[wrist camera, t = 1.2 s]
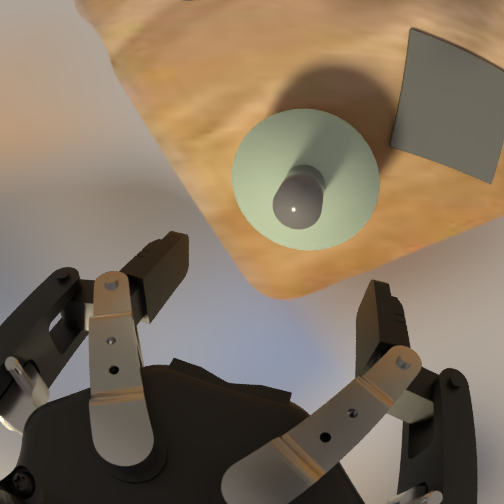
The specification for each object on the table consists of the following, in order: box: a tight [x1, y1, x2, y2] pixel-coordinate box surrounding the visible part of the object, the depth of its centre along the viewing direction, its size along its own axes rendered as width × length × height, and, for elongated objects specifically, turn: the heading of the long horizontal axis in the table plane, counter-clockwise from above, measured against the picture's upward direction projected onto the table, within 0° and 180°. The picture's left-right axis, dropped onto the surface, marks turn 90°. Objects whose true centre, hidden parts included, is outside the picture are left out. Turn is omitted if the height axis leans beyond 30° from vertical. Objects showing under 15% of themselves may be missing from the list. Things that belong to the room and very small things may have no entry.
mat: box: [390, 29, 504, 184], centre depth 20 cm, size 12×12×1 cm
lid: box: [232, 108, 380, 251], centre depth 21 cm, size 12×12×6 cm
